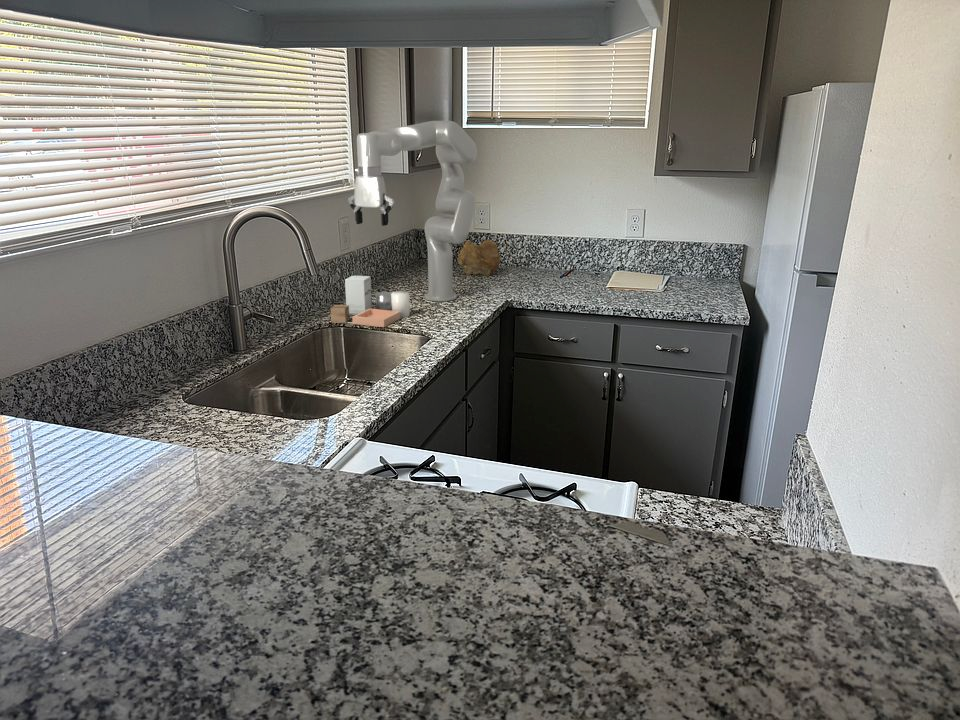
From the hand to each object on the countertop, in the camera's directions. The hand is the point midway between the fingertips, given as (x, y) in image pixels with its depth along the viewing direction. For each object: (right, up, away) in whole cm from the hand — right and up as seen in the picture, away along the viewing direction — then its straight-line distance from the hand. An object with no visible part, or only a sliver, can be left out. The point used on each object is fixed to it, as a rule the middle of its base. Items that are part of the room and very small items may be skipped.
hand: (372, 224), depth 235 cm
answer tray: (+1, -32, +5) cm, 33 cm away
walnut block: (-12, -32, +5) cm, 35 cm away
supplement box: (-7, -29, +17) cm, 34 cm away
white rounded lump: (+8, -30, +13) cm, 34 cm away
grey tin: (+2, -27, +20) cm, 34 cm away
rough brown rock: (+38, -7, +83) cm, 91 cm away
